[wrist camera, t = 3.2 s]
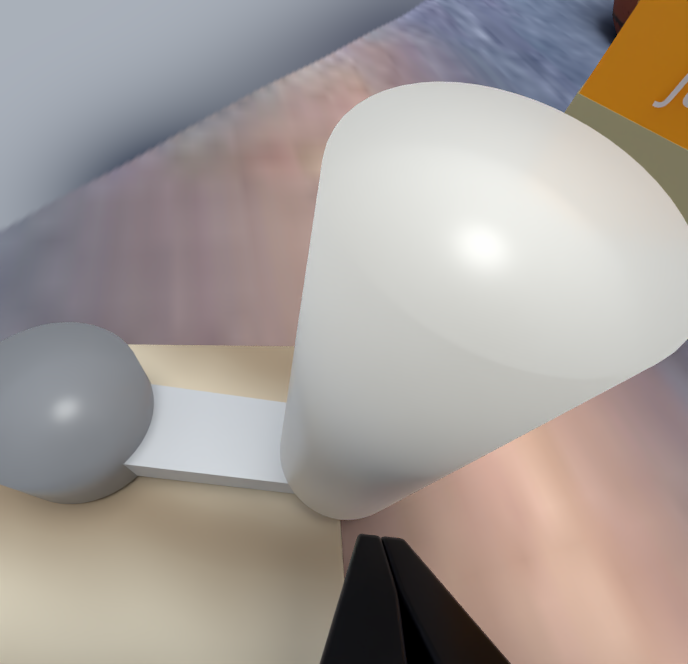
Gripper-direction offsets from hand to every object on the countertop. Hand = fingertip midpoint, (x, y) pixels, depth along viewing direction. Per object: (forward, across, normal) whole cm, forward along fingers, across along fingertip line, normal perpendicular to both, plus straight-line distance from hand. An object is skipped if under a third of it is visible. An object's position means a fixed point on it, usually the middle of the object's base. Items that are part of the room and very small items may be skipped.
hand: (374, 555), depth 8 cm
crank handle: (+6, +7, +2) cm, 10 cm away
